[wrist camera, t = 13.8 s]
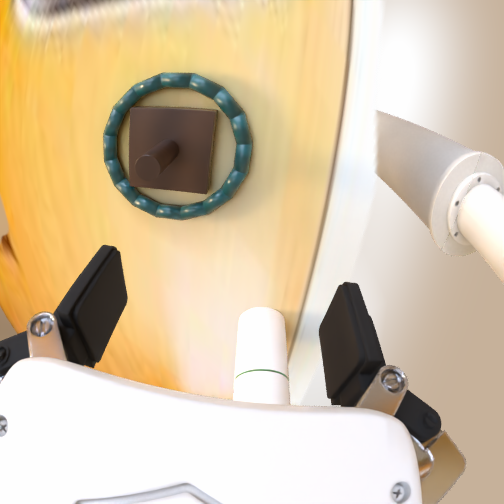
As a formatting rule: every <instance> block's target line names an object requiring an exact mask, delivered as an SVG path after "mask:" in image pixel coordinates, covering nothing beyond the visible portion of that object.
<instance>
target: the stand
mask: <svg viewBox="0 0 504 504" xmlns="http://www.w3.org/2000/svg"><path fill="white" fill-rule="evenodd" d="M216 118H217V110H211V109H199V108H184V107H160V106H135V107H132V108H130V128H129V178H130V186H133V187H144V188H154V189H164V190H174V191H183V192H192V193H200V194H207V192H208V190H209V181H210V171H211V161H212V152H213V143H214V134H215V126H216Z"/></svg>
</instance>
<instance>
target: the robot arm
mask: <svg viewBox="0 0 504 504" xmlns="http://www.w3.org/2000/svg"><path fill="white" fill-rule="evenodd" d="M447 227H448V230H449V233H450V235H451V236H452V238H453V239H454V240H455V241H456V242H458V243H459V244H461V245H472V246H473V247H474V248H475V249H476V250H477V252H478V253H479V254H480V255H481V256H482V257H483V259H484V260H485V261H486V262H487V263H488V265H489V266H490V267H491V268H492V270H493V271H494V272H495V273H496V275H497V276H498V277H499V278H500V280H501V281H502V282H503V284H504V196H503V195H502V190H501V187H500V184H499V182H498V181H497V180H496V179H495V178H494V177H493V176H491V175H490V174H488V173H485V172H477V173H474V174H472V175H470V176H468V177H467V178H466V179H465V180H463V181H462V182H461V184H460V185H459V186H458V187H457V189H456V191H455V192H454V194H453V196H452V198H451V200H450V203H449V207H448V211H447ZM127 298H128V297H127V291H126V286H125V280H124V274H123V268H122V262H121V255H120V252H119V251H117V248H116V247H114V246H108V245H103V246H102V247H101V248H100V249H99V250H98V252H97V253H96V254H95V256H94V257H93V258H92V260H91V261H90V262H89V264H88V265H87V266H86V268H85V269H84V270H83V272H82V273H81V274H80V275H79V277H78V278H77V279H76V281H75V282H74V284H73V285H72V287H71V288H70V289H69V291H68V292H67V294H66V295H65V297H64V298H63V300H62V301H61V303H60V304H59V306H58V307H57V309H56V310H55V312H54V314H52V313H50V312H40V313H37V314H35V315H34V316H33V317H32V318H31V319H30V320H29V322H28V324H27V331H25V332H22V333H20V334H17V335H15V336H12V337H10V338H7V339H5V340H2V341H0V504H437V503H438V502H439V501H440V500H441V499H442V498H443V497H444V496H445V495H446V493H447V492H448V491H449V490H450V489H451V488H452V486H453V485H454V484H455V483H456V481H457V480H458V479H459V478H460V476H461V475H462V474H463V472H464V470H465V468H466V459H465V457H464V455H463V454H462V452H461V451H460V450H459V448H458V447H457V446H456V444H455V443H454V442H453V440H452V439H451V438H450V436H449V435H448V434H447V432H446V431H445V430H444V431H442V430H441V419H440V416H439V415H438V413H437V412H436V411H435V410H434V409H432V408H431V407H430V406H429V405H427V404H426V403H425V402H423V401H422V400H421V399H419V398H418V397H417V396H415V395H414V394H413V393H411V392H410V391H409V390H407V388H408V379H407V377H406V375H405V373H404V372H403V371H402V370H400V368H398V367H396V366H392V365H387V366H386V364H385V360H384V357H383V353H382V350H381V347H380V344H379V340H378V337H377V334H376V330H375V327H374V324H373V321H372V318H371V317H370V316H369V315H368V311H367V309H366V306H365V303H364V300H363V297H362V294H361V291H360V288H359V285H358V284H357V283H350V282H344V283H343V285H339V286H338V288H337V291H336V293H335V295H334V297H333V299H332V302H331V304H330V306H329V308H328V310H327V312H326V315H325V317H324V319H323V321H322V323H321V325H320V328H319V337H320V344H321V351H322V359H323V366H324V373H325V382H326V390H327V397H328V398H329V399H331V403H332V405H341V407H327V406H298V405H279V404H266V403H255V402H246V401H237V400H229V399H222V398H215V397H208V396H202V395H196V394H191V393H185V392H180V391H175V390H170V389H166V388H161V387H157V386H152V385H148V384H144V383H140V382H136V381H132V380H129V379H125V378H121V377H118V376H114V375H111V374H107V373H104V372H101V371H97V370H94V369H91V368H88V367H85V366H84V365H86V366H89V367H92V368H94V366H95V364H96V362H97V363H98V362H99V361H100V360H101V357H102V355H103V353H104V351H105V348H106V346H107V344H108V342H109V339H110V337H111V335H112V333H113V331H114V329H115V326H116V324H117V322H118V320H119V318H120V316H121V314H122V312H123V310H124V308H125V306H126V303H127Z"/></svg>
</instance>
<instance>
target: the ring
mask: <svg viewBox="0 0 504 504" xmlns="http://www.w3.org/2000/svg"><path fill="white" fill-rule="evenodd" d="M164 87H170V88H190V89H193V90H195V91H197V92H199V93H201V94H203V95H205V96H207V97H209V98H211V99H213V100H214V101H215V102H216V104H217V105H218V106H219V107H220V108H221V109H222V111H223V112H224V113H225V114H226V115H227V117H228V118H229V119H230V122H231V126H232V129H233V133H234V136H235V140H236V143H237V145H236V152H235V160H234V167H233V169H232V171H231V173H230V174H229V176H228V178H227V179H226V181H225V183H224V184H223V186H222V188H220V189H219V190H217V191H216V192H215V193H213V194H212V195H211V196H209V197H208V198H207V199H205V200H204V201H201V202H197V203H193V204H189V205H185V206H175V205H166V204H160V203H158V202H156V201H154V200H152V199H150V198H148V197H146V196H144V195H142V194H140V193H139V192H138V191H137V190H136V188H135V187H133V186H130V182H129V181H128V180H127V179H126V178H125V175H124V173H123V170H122V168H121V165H120V163H119V160H118V158H117V133H118V131H119V128H120V126H121V123H122V121H123V118H124V116H125V113H126V112H127V111H128V110H129V109H130V108H131V107H132V106H133V105H134V104H135V103H136V102H137V101H138V100H139V99H140V98H141V97H142V96H145V95H147V94H149V93H152V92H154V91H157V90H159V89H162V88H164ZM103 145H104V162H105V165H106V167H107V169H108V172H109V174H110V177H111V179H112V181H113V184H114V186H115V187H116V188H117V189H118V190H119V191H120V192H121V193H122V195H123V196H124V197H125V198H126V199H127V200H128V201H129V202H130V203H131V204H132V205H133V206H135V207H137V208H139V209H141V210H143V211H145V212H147V213H149V214H151V215H153V216H155V217H159V218H167V219H176V220H186V219H190V218H195V217H199V216H203V215H207V214H210V213H211V212H213V211H214V210H216V209H217V208H219V207H220V206H221V205H223V204H224V203H226V202H227V201H228V200H230V199H231V198H232V197H233V196H234V195H235V193H236V191H237V190H238V188H239V187H240V185H241V183H242V182H243V180H244V179H245V177H246V176H247V174H248V171H249V164H250V158H251V152H252V145H253V141H252V137H251V134H250V130H249V126H248V123H247V119H246V115H245V112H244V111H243V110H242V108H241V107H240V106H239V105H238V103H237V102H236V101H235V100H234V99H233V97H232V96H231V95H230V94H229V93H228V91H227V90H226V89H225V88H224V87H222V86H220V85H218V84H216V83H214V82H212V81H210V80H208V79H206V78H204V77H202V76H200V75H197V74H195V73H161V74H158V75H156V76H153V77H151V78H149V79H146V80H144V81H142V82H139V83H137V84H135V85H134V86H133V87H132V88H131V89H130V90H129V91H128V92H127V93H126V94H125V95H124V96H123V97H122V98H121V99H120V100H119V101H118V102H117V103H116V104H115V106H114V107H113V109H112V112H111V114H110V117H109V119H108V122H107V125H106V128H105V130H104V133H103Z"/></svg>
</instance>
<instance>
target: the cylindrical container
mask: <svg viewBox="0 0 504 504" xmlns="http://www.w3.org/2000/svg"><path fill="white" fill-rule="evenodd" d="M233 393H234V394H233V400H237V401H246V402H255V403H266V404H279V405H290V392H289V375H288V359H287V344H286V329H285V319H284V317H283V315H282V314H281V313H280V312H278V311H277V310H275V309H272V308H268V307H257V308H252V309H249V310H247V311H246V312H244V313H243V314H242V315H241V317H240V318H239V326H238V339H237V352H236V365H235V379H234V392H233Z"/></svg>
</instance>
